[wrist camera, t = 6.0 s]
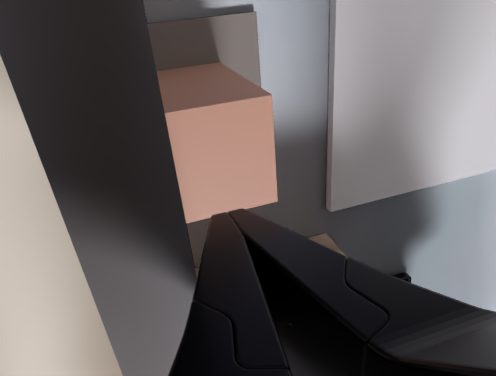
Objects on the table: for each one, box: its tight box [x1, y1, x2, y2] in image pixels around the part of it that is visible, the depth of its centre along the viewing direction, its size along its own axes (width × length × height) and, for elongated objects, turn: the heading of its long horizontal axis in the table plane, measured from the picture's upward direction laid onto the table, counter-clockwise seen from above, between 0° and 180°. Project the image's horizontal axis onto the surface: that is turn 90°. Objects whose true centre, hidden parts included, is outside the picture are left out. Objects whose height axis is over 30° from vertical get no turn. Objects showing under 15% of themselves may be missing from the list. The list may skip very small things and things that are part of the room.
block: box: [157, 62, 278, 224], centre depth 16 cm, size 4×4×7 cm
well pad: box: [147, 12, 261, 88], centre depth 19 cm, size 8×8×1 cm
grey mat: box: [326, 0, 496, 212], centre depth 21 cm, size 14×20×1 cm
